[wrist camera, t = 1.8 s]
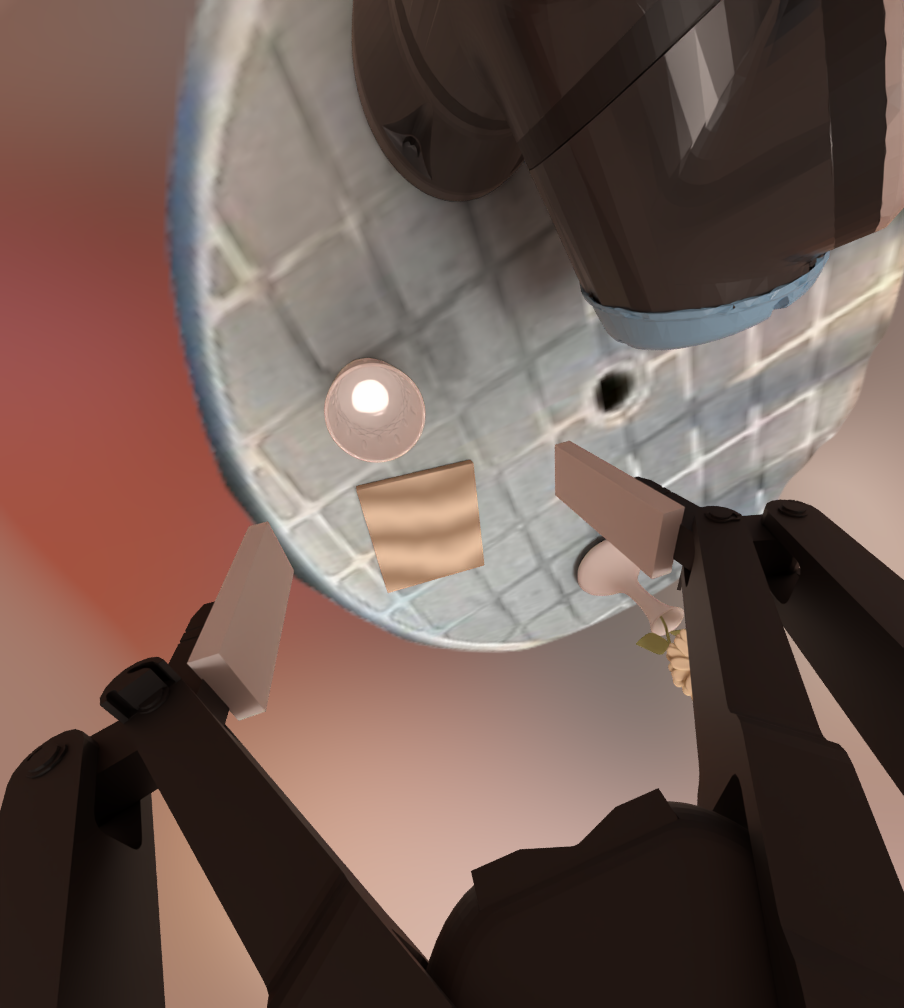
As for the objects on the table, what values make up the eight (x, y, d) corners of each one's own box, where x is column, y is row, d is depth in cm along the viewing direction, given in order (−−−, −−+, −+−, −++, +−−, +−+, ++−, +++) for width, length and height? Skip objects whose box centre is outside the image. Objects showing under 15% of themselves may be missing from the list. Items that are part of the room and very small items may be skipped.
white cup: (321, 417, 36) (315, 449, 28) (338, 338, 33) (336, 347, 25) (395, 437, 39) (409, 471, 31) (416, 367, 36) (438, 383, 28)
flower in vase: (643, 531, 58) (818, 658, 36) (617, 586, 62) (757, 725, 41) (577, 530, 53) (731, 672, 32) (554, 588, 58) (675, 745, 37)
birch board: (356, 486, 41) (356, 490, 40) (470, 459, 43) (473, 463, 42) (386, 587, 49) (387, 592, 48) (481, 560, 51) (484, 565, 50)
